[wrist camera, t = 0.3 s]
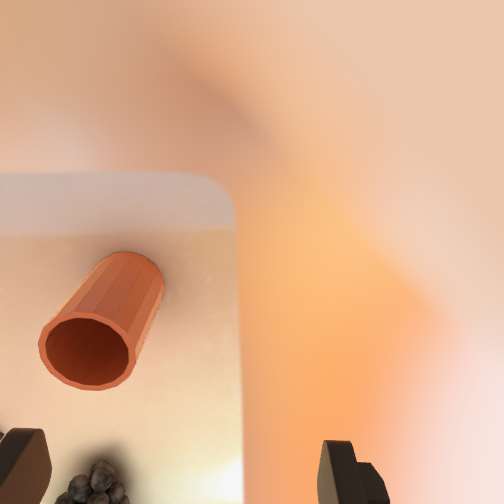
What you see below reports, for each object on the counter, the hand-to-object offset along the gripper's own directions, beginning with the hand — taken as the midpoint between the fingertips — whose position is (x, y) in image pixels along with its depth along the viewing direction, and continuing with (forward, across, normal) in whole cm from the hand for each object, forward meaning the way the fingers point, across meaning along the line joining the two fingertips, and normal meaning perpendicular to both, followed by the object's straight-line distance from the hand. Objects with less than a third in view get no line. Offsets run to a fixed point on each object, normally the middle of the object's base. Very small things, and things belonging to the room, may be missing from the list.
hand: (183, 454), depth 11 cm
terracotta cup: (+18, +7, +5) cm, 20 cm away
